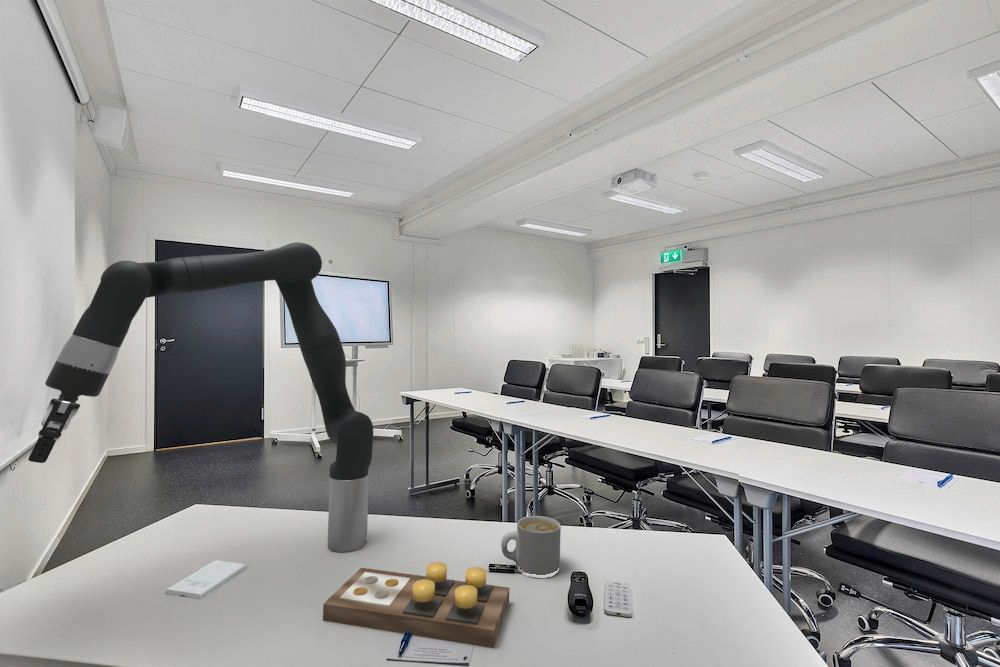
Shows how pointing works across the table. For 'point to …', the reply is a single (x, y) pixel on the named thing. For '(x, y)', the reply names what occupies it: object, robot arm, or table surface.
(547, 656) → the table surface
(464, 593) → the button
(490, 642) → the button board
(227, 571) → the external hard drive
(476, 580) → the button
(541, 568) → the coffee mug
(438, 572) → the button
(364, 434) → the robot arm
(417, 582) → the button
